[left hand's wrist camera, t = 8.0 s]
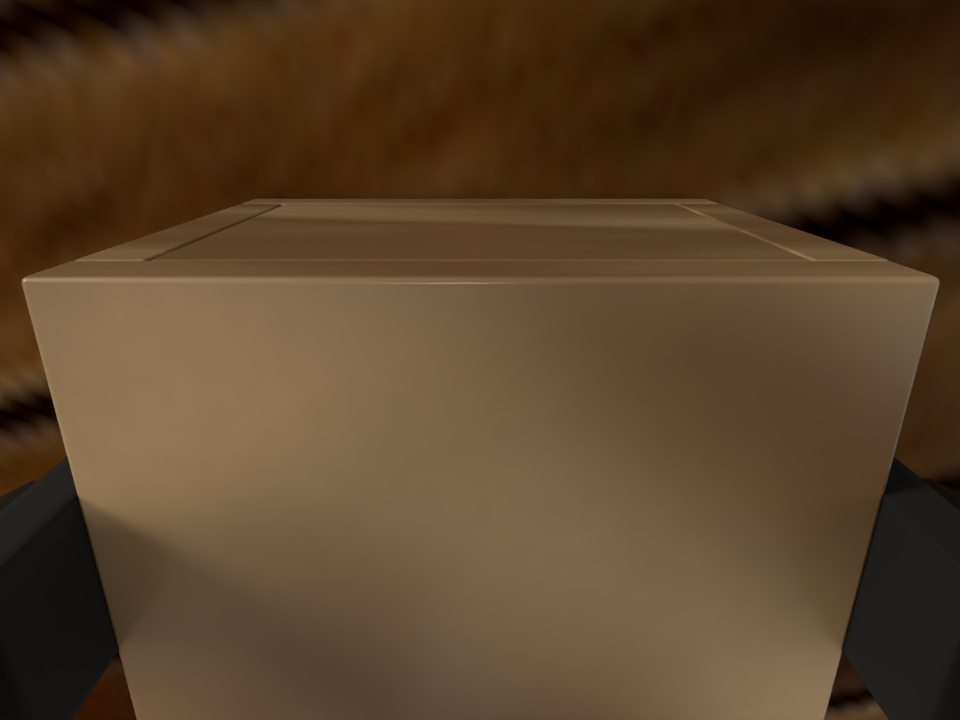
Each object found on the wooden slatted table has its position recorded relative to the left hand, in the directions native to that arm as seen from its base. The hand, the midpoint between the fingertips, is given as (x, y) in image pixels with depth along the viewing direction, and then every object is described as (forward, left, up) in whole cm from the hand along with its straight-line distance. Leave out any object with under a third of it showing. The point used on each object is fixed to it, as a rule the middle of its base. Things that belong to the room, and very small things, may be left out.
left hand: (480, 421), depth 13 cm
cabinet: (+1, +4, -3) cm, 5 cm away
